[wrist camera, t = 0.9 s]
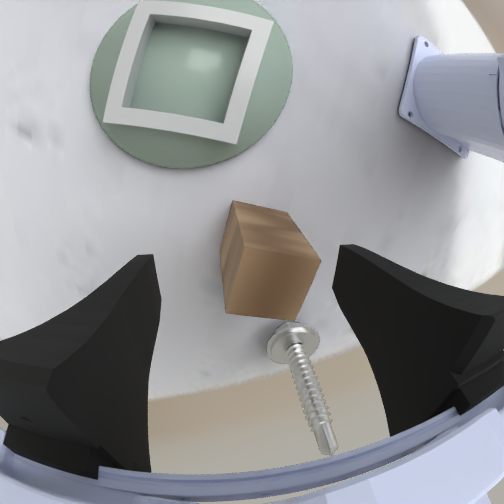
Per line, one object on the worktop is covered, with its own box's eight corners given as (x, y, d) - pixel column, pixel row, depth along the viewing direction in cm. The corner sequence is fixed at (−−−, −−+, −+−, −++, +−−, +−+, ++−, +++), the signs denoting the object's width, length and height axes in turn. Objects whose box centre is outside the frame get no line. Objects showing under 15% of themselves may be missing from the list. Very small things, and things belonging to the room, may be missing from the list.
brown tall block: (287, 212, 20) (321, 260, 14) (270, 260, 22) (294, 320, 15) (232, 200, 19) (244, 246, 13) (219, 251, 21) (225, 313, 14)
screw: (310, 305, 24) (314, 339, 27) (258, 320, 24) (268, 353, 27) (369, 431, 13) (361, 452, 15) (292, 457, 13) (299, 472, 15)
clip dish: (310, 16, 13) (323, 5, 11) (259, 184, 19) (266, 194, 17) (126, -17, 10) (117, -30, 8) (78, 153, 15) (62, 159, 13)
